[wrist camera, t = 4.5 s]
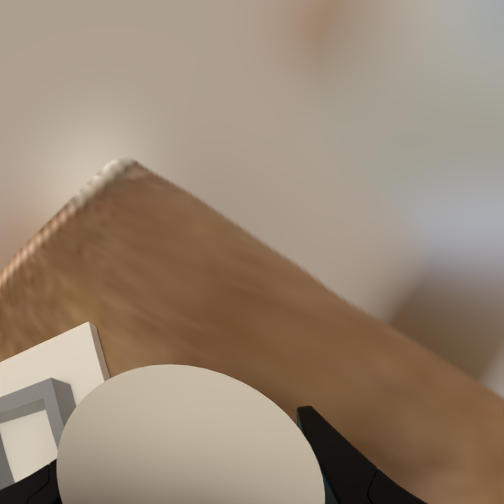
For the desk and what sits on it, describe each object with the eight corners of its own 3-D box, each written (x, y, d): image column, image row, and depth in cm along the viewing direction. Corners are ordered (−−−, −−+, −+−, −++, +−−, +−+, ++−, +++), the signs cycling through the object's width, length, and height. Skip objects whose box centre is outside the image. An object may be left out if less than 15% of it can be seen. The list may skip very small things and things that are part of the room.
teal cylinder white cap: (236, 509, 11) (168, 625, 2) (175, 441, 13) (22, 441, 4) (310, 453, 13) (384, 504, 3) (247, 387, 15) (195, 311, 5)
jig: (194, 557, 10) (180, 576, 8) (6, 559, 7) (-17, 563, 4) (96, 326, 18) (72, 309, 16) (-46, 390, 15) (-69, 380, 12)
